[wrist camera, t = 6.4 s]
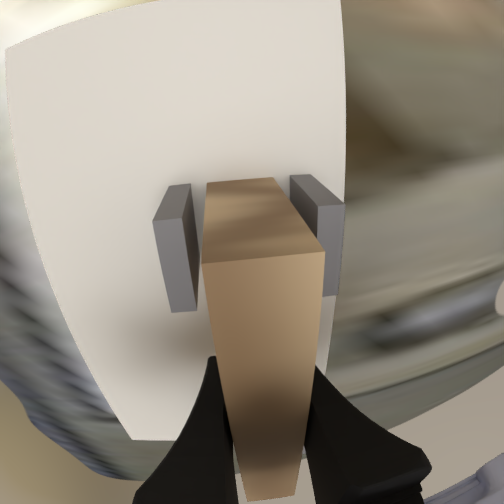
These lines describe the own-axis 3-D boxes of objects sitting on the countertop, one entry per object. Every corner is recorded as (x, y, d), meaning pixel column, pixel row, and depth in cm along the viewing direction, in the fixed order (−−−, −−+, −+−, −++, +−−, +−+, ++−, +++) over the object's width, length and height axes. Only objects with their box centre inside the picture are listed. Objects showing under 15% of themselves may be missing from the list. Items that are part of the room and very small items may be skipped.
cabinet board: (330, 4, 9) (384, -30, 5) (312, 414, 20) (327, 466, 16) (17, 50, 8) (-50, 45, 4) (133, 428, 19) (127, 480, 15)
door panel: (272, 176, 11) (325, 251, 6) (276, 410, 18) (294, 495, 13) (206, 182, 11) (201, 264, 6) (237, 414, 18) (247, 501, 12)
